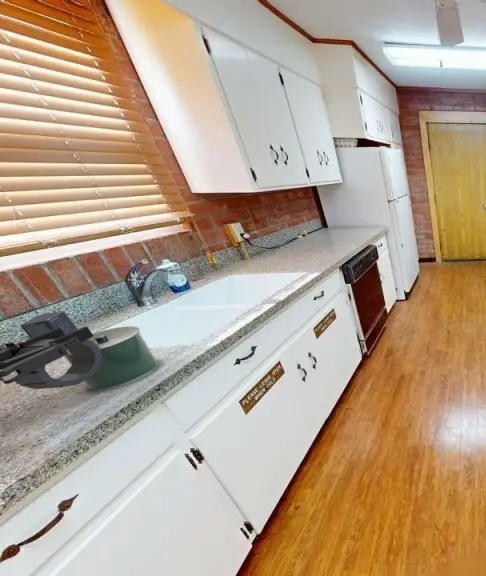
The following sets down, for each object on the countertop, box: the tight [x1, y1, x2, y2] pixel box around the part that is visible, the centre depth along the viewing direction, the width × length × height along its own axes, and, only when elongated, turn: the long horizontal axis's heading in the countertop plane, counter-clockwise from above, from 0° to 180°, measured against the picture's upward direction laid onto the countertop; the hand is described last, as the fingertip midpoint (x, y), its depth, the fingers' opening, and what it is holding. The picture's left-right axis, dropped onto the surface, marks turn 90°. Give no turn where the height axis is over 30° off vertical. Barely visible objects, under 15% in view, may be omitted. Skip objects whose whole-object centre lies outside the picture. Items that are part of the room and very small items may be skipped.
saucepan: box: [14, 326, 158, 391], centre depth 82 cm, size 27×14×13 cm, turn 97°
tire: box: [14, 339, 102, 390], centre depth 67 cm, size 11×5×11 cm, turn 7°
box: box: [19, 310, 79, 339], centre depth 96 cm, size 8×6×11 cm
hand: (75, 332), depth 70 cm, fingers closed on tire, 5 cm apart
